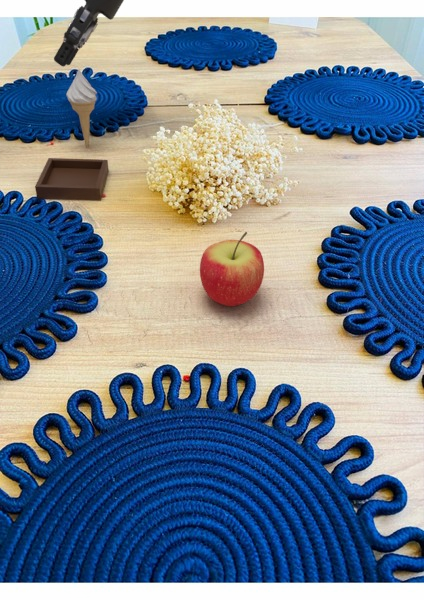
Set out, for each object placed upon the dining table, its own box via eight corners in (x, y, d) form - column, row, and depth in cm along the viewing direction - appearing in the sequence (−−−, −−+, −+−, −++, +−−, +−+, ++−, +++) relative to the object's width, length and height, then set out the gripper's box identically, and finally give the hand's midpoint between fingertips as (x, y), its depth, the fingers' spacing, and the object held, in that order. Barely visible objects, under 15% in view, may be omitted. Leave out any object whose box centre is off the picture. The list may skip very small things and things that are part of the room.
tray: (37, 198, 89) (34, 186, 88) (50, 169, 97) (48, 157, 96) (100, 200, 90) (99, 188, 88) (108, 171, 98) (107, 159, 96)
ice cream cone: (71, 143, 106) (60, 64, 96) (99, 140, 107) (91, 62, 98) (76, 155, 102) (65, 74, 92) (105, 151, 104) (97, 71, 94)
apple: (273, 305, 71) (282, 243, 64) (218, 325, 67) (222, 262, 61) (239, 271, 76) (245, 211, 69) (187, 289, 73) (188, 227, 66)
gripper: (124, -6, 90) (75, 77, 94) (125, 0, 103) (82, 74, 107) (85, -38, 87) (36, 50, 92) (91, -27, 100) (48, 49, 104)
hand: (61, 63), depth 99 cm, fingers open, 8 cm apart
